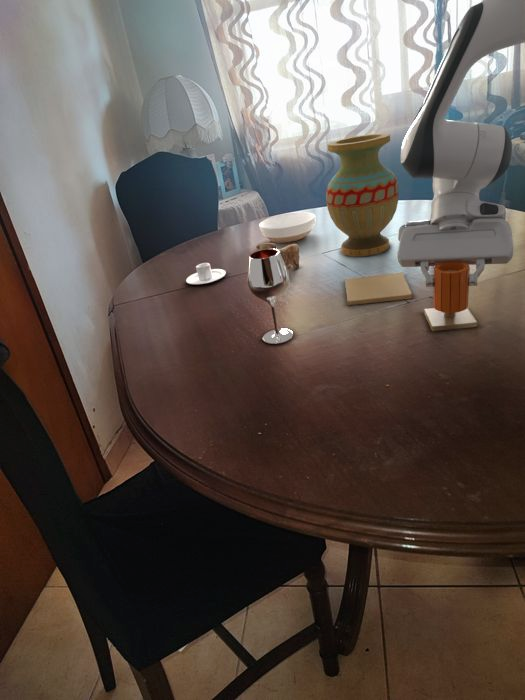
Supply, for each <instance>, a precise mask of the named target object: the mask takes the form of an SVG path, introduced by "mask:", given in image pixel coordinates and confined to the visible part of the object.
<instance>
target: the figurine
mask: <svg viewBox="0 0 525 700" xmlns="http://www.w3.org/2000/svg"><path fill="white" fill-rule="evenodd" d="M256 249H257V250H258V251H260V250H264V249H276V250H278V251H279V253H280V255H281V257H282V259H283V261H284V264H285V266H286V268H287V269H289V268H291V267H292V268H293V269H294V270H295V269H299V268H300V259H301V258H300V246H299V244H296V243H292V244H288V245H286V246H284V247H282V248H279V249H277V244H276V243H274V242H263V243H260V244H258V245H256Z"/></svg>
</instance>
